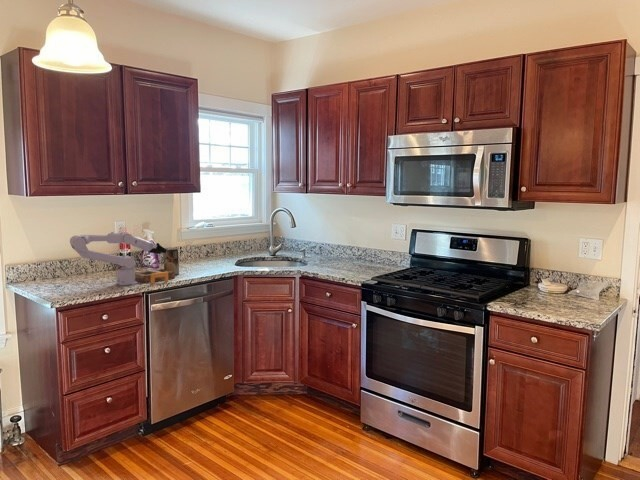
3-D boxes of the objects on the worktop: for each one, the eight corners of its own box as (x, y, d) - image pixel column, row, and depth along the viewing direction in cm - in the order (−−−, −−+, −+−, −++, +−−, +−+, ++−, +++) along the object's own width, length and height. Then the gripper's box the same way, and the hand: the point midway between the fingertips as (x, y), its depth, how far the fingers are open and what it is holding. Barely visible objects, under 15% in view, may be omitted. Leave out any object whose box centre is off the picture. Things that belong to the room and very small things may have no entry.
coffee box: (179, 272, 306) (178, 248, 304) (179, 274, 300) (178, 249, 298) (164, 273, 304) (163, 248, 302) (163, 275, 298) (163, 250, 296)
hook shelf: (143, 282, 274) (143, 274, 273) (132, 279, 283) (132, 271, 283) (174, 278, 288) (174, 270, 288) (163, 275, 298) (163, 267, 297)
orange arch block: (152, 284, 271) (151, 274, 270) (150, 283, 272) (150, 273, 271) (168, 281, 278) (168, 271, 277) (167, 281, 279) (166, 271, 278)
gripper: (148, 236, 269) (170, 244, 277) (139, 238, 280) (160, 246, 288) (144, 248, 267) (166, 256, 275) (135, 249, 278) (157, 257, 286)
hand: (163, 251), depth 281 cm, fingers open, 7 cm apart
